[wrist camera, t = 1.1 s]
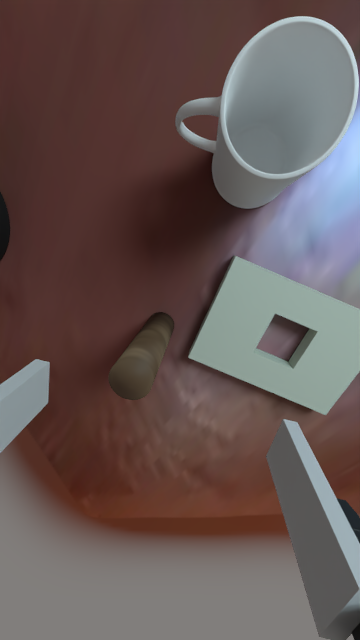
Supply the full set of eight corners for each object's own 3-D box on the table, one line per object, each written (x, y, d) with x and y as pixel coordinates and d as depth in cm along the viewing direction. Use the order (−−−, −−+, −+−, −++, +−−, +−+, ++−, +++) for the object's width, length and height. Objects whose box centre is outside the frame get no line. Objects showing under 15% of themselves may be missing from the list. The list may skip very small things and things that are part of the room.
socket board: (189, 351, 33) (188, 357, 31) (233, 255, 29) (235, 256, 27) (319, 405, 34) (325, 415, 32) (383, 319, 29) (395, 324, 27)
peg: (144, 331, 33) (103, 389, 20) (153, 308, 32) (115, 353, 19) (168, 341, 33) (143, 406, 20) (178, 318, 32) (158, 371, 19)
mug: (174, 187, 27) (151, 147, 16) (197, 97, 24) (189, -29, 13) (272, 218, 27) (321, 200, 16) (307, 131, 24) (395, 34, 13)
